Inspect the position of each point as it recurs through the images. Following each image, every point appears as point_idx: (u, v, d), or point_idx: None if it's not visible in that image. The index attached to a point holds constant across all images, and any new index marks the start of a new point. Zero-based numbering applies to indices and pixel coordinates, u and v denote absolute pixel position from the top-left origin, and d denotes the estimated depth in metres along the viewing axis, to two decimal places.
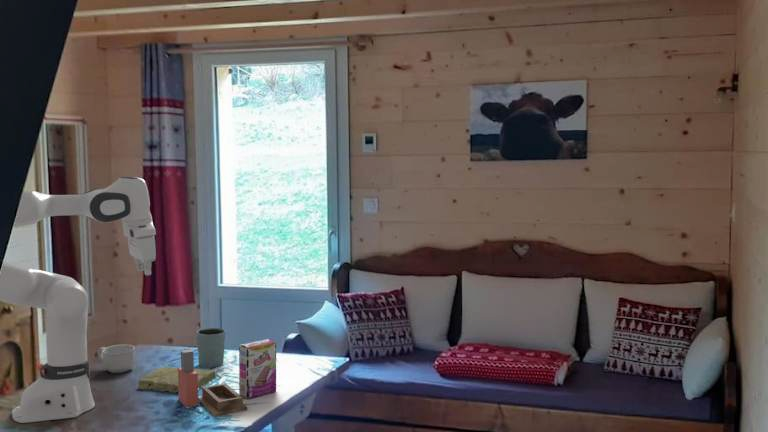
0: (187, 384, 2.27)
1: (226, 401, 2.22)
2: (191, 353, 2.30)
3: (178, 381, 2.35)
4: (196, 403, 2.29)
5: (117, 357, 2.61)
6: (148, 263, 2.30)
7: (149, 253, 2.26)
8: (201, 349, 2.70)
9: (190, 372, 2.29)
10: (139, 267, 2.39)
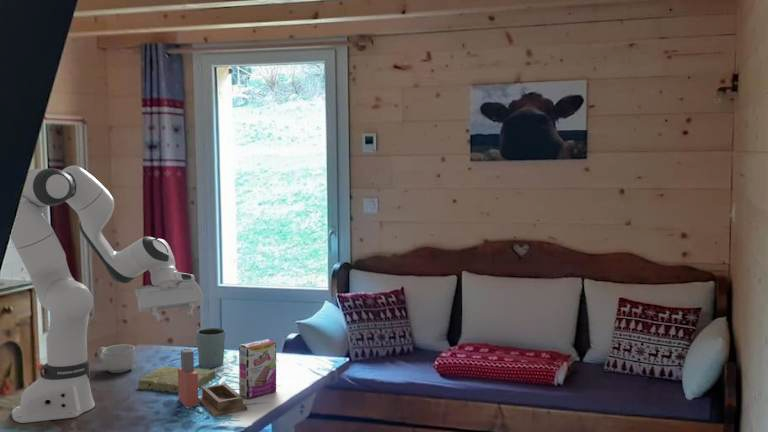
0: (187, 384, 2.27)
1: (226, 401, 2.22)
2: (191, 353, 2.30)
3: (178, 381, 2.35)
4: (196, 403, 2.29)
5: (117, 357, 2.61)
6: None
7: None
8: (201, 349, 2.70)
9: (190, 372, 2.29)
10: None
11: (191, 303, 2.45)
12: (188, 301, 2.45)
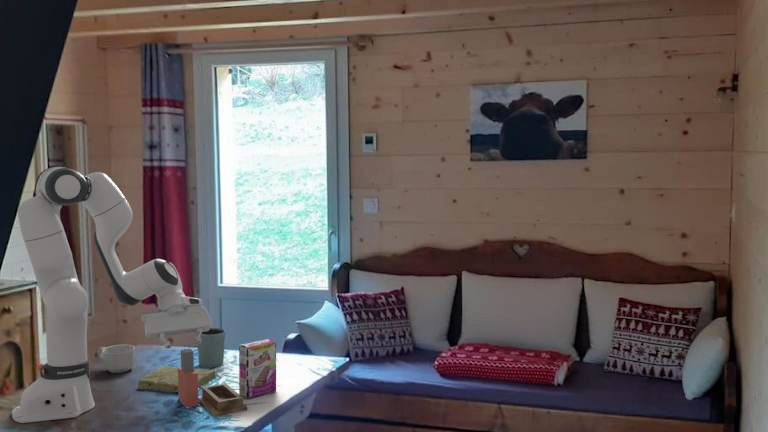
0: (187, 384, 2.27)
1: (226, 401, 2.22)
2: (191, 353, 2.30)
3: (178, 381, 2.35)
4: (196, 403, 2.29)
5: (117, 357, 2.61)
6: None
7: None
8: (201, 349, 2.70)
9: (190, 372, 2.29)
10: None
11: (199, 328, 2.39)
12: (196, 326, 2.39)
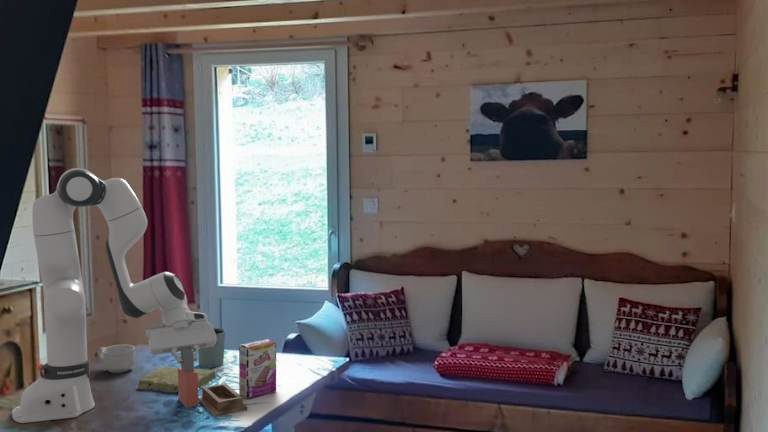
0: (187, 384, 2.27)
1: (226, 401, 2.22)
2: (191, 353, 2.30)
3: (178, 381, 2.35)
4: (196, 403, 2.29)
5: (117, 357, 2.61)
6: None
7: None
8: (201, 349, 2.70)
9: (190, 372, 2.29)
10: None
11: (196, 345, 2.34)
12: (201, 342, 2.35)
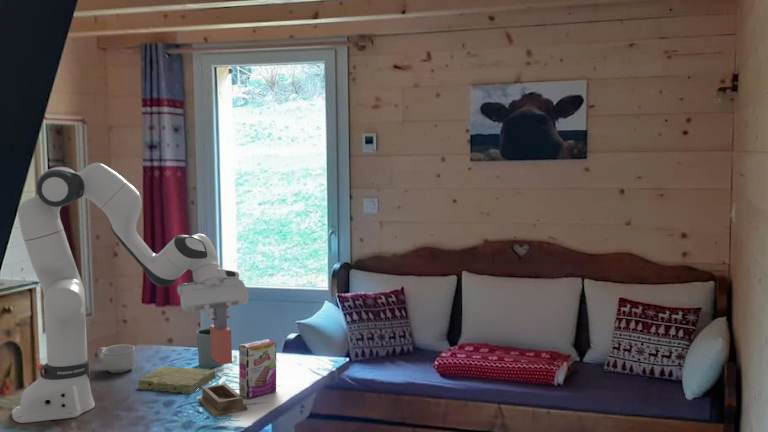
0: (220, 341, 2.23)
1: (226, 401, 2.22)
2: (224, 309, 2.26)
3: (210, 339, 2.31)
4: (230, 360, 2.25)
5: (117, 357, 2.61)
6: None
7: None
8: (201, 349, 2.70)
9: (223, 329, 2.25)
10: None
11: (228, 302, 2.30)
12: (233, 299, 2.31)
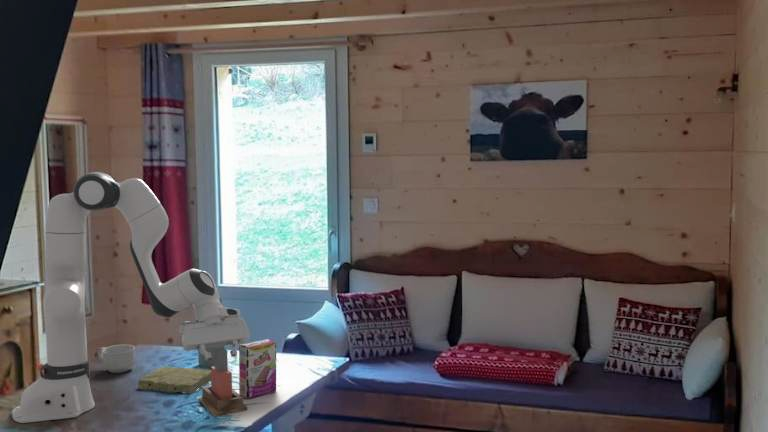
0: (221, 383, 2.24)
1: (226, 401, 2.22)
2: (225, 352, 2.27)
3: (211, 380, 2.32)
4: None
5: (117, 357, 2.61)
6: None
7: None
8: None
9: (224, 371, 2.26)
10: None
11: (235, 340, 2.32)
12: (234, 338, 2.32)
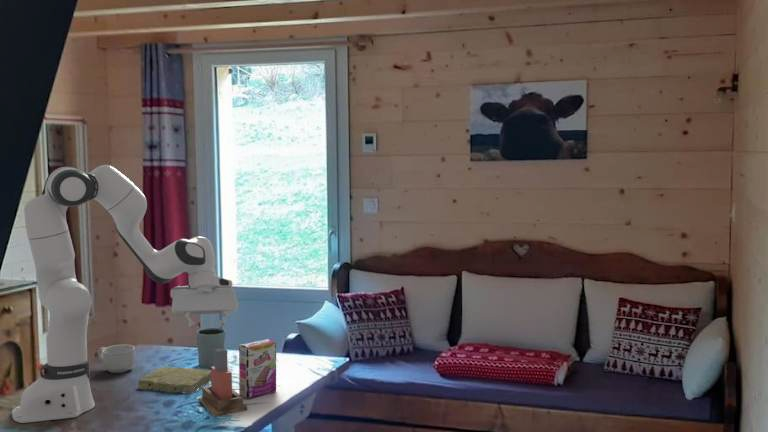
0: (221, 383, 2.24)
1: (226, 401, 2.22)
2: (225, 352, 2.27)
3: (211, 380, 2.32)
4: None
5: (117, 357, 2.61)
6: None
7: None
8: (201, 349, 2.70)
9: (224, 371, 2.26)
10: (193, 322, 2.35)
11: (225, 311, 2.40)
12: (222, 309, 2.40)
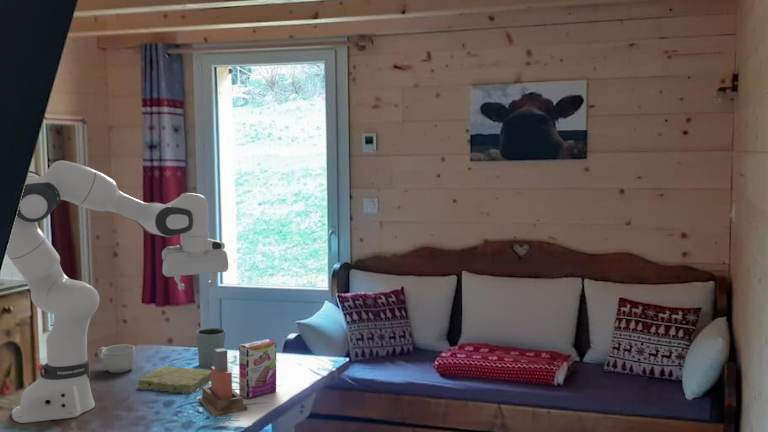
0: (221, 383, 2.24)
1: (226, 401, 2.22)
2: (225, 352, 2.27)
3: (211, 380, 2.32)
4: None
5: (117, 357, 2.61)
6: None
7: None
8: (201, 349, 2.70)
9: (224, 371, 2.26)
10: None
11: (215, 273, 2.42)
12: (212, 272, 2.41)
